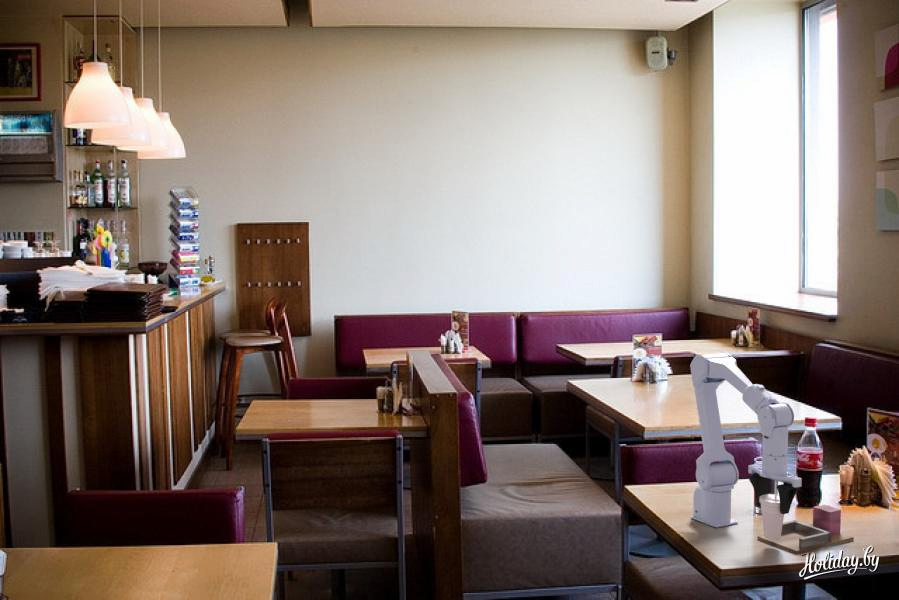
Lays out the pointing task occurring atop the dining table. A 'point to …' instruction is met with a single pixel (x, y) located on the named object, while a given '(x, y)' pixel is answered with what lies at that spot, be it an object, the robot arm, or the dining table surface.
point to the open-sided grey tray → (811, 532)
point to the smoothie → (771, 515)
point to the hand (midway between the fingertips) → (773, 509)
